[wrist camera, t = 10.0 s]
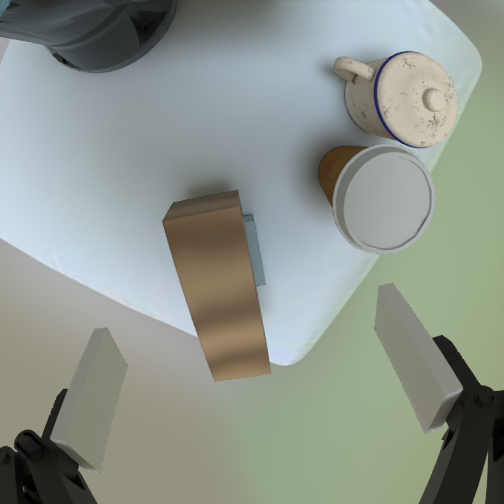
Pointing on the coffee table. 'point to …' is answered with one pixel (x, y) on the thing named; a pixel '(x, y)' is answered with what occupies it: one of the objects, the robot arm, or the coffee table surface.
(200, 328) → the batten
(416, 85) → the teacup with lid
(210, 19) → the coffee table surface
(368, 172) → the disposable coffee cup
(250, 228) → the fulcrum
